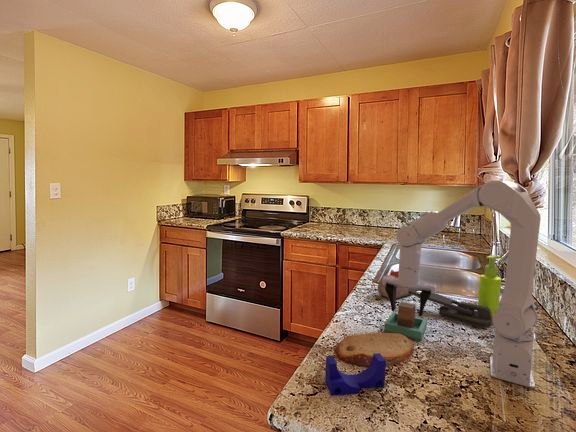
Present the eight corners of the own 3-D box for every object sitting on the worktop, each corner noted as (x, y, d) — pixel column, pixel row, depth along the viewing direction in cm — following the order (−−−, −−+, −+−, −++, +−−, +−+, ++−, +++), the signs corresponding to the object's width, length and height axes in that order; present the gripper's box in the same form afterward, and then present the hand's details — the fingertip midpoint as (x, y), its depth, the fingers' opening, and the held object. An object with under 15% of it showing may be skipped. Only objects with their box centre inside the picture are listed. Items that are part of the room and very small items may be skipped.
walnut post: (411, 332, 92) (413, 308, 91) (397, 328, 94) (398, 305, 93) (414, 327, 95) (415, 304, 95) (400, 323, 98) (401, 301, 97)
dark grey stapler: (414, 284, 117) (494, 301, 102) (413, 302, 118) (493, 321, 102) (405, 290, 111) (490, 309, 95) (404, 309, 111) (489, 330, 95)
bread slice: (414, 344, 87) (415, 330, 86) (411, 380, 70) (412, 364, 70) (348, 330, 94) (349, 318, 94) (331, 361, 78) (332, 346, 77)
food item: (392, 302, 117) (394, 276, 116) (375, 296, 124) (376, 271, 123) (415, 295, 125) (416, 270, 124) (397, 290, 132) (399, 266, 131)
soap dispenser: (504, 317, 105) (509, 257, 103) (489, 320, 103) (494, 258, 101) (487, 310, 111) (492, 253, 109) (473, 313, 108) (477, 254, 106)
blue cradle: (330, 396, 64) (331, 368, 64) (325, 383, 69) (326, 356, 68) (387, 392, 66) (389, 364, 65) (378, 379, 70) (379, 353, 70)
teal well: (420, 340, 88) (421, 332, 88) (384, 331, 93) (384, 323, 93) (426, 327, 96) (427, 319, 96) (392, 319, 102) (392, 312, 101)
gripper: (438, 267, 93) (435, 313, 94) (387, 260, 100) (385, 303, 101) (435, 273, 87) (432, 321, 88) (381, 265, 94) (379, 310, 95)
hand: (406, 312), depth 94 cm, fingers open, 7 cm apart
